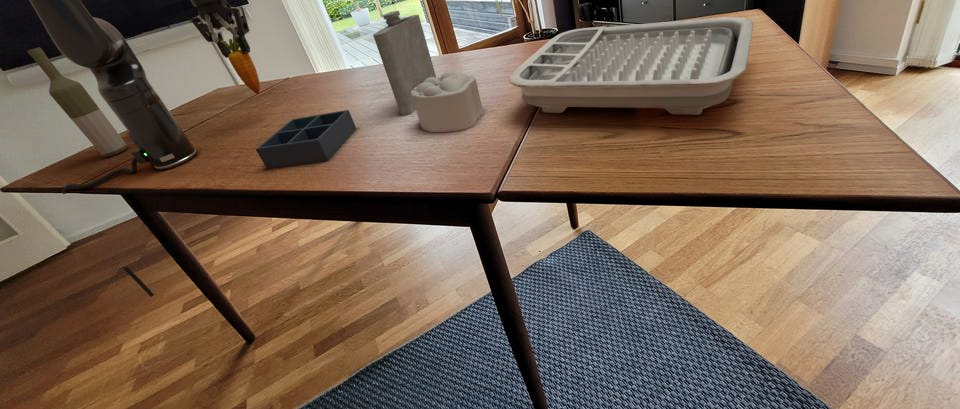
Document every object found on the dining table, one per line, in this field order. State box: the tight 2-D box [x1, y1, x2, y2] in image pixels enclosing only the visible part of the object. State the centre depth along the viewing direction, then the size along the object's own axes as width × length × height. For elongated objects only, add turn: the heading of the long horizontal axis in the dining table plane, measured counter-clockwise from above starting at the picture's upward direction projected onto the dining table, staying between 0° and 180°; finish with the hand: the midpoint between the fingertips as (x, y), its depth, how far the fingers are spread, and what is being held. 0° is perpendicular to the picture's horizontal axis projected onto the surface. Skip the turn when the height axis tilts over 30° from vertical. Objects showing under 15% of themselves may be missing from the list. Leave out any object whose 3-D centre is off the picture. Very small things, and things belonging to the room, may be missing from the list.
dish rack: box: [508, 16, 754, 116], centre depth 74 cm, size 32×37×8 cm
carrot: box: [221, 35, 261, 95], centre depth 106 cm, size 5×5×15 cm
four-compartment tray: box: [255, 109, 357, 170], centre depth 86 cm, size 14×14×5 cm
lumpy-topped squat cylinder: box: [411, 71, 484, 133], centre depth 81 cm, size 10×13×9 cm
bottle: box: [26, 47, 128, 158], centre depth 112 cm, size 7×7×30 cm
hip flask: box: [372, 10, 437, 116], centre depth 93 cm, size 16×4×20 cm, turn 156°
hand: (237, 54), depth 105 cm, fingers closed on carrot, 5 cm apart
